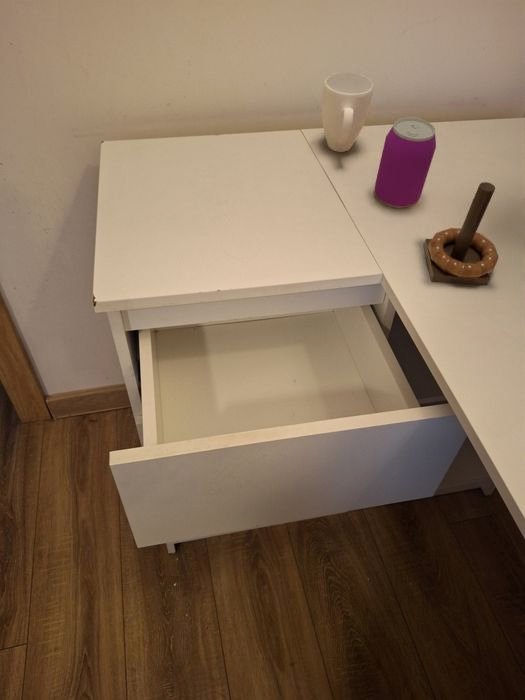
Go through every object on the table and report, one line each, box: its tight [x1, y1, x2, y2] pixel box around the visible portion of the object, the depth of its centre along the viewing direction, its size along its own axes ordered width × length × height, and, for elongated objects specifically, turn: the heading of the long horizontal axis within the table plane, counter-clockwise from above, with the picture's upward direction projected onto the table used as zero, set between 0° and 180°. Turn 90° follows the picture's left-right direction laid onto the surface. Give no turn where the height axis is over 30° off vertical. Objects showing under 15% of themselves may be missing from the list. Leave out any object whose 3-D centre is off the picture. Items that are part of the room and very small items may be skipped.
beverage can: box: [374, 117, 437, 209], centre depth 81 cm, size 8×8×12 cm
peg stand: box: [423, 181, 496, 285], centre depth 71 cm, size 8×8×13 cm
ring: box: [428, 227, 499, 278], centre depth 74 cm, size 10×10×2 cm
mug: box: [320, 71, 374, 153], centre depth 90 cm, size 12×8×11 cm
